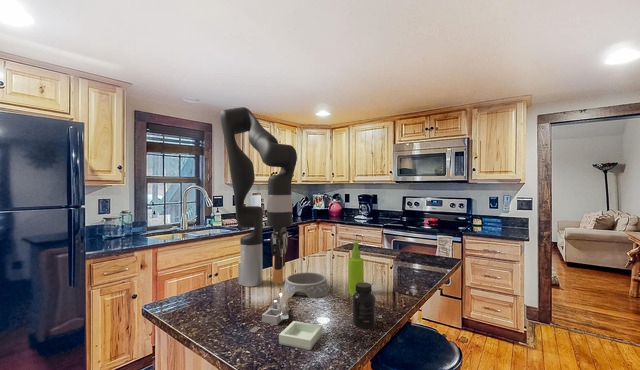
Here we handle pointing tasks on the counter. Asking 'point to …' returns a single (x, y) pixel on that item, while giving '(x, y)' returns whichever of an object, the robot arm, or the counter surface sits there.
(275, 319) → the collar
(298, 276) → the dog bowl
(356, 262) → the soap dispenser
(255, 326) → the crank flange
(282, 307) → the crank
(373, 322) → the supplement bottle
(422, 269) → the counter surface
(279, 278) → the pin
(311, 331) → the tray
